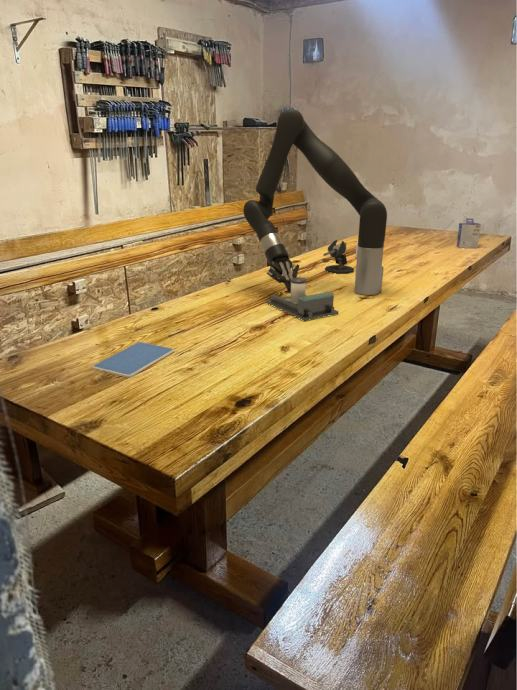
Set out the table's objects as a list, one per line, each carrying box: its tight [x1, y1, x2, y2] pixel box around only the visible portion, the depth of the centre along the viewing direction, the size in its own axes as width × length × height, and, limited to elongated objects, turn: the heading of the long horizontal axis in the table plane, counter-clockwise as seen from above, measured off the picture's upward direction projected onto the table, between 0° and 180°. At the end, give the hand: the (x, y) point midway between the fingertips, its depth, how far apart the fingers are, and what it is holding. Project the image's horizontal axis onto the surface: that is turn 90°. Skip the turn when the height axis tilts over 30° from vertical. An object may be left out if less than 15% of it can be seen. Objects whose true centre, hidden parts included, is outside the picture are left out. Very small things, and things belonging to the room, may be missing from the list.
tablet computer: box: [91, 341, 176, 379], centre depth 141 cm, size 19×13×1 cm, turn 153°
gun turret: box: [322, 239, 355, 275], centre depth 228 cm, size 13×20×13 cm, turn 146°
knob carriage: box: [285, 276, 308, 305], centre depth 182 cm, size 7×6×8 cm
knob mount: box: [266, 291, 340, 321], centre depth 181 cm, size 14×22×7 cm, turn 32°
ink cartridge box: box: [456, 218, 482, 249], centre depth 279 cm, size 10×6×14 cm, turn 89°
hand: (293, 291), depth 185 cm, fingers closed
